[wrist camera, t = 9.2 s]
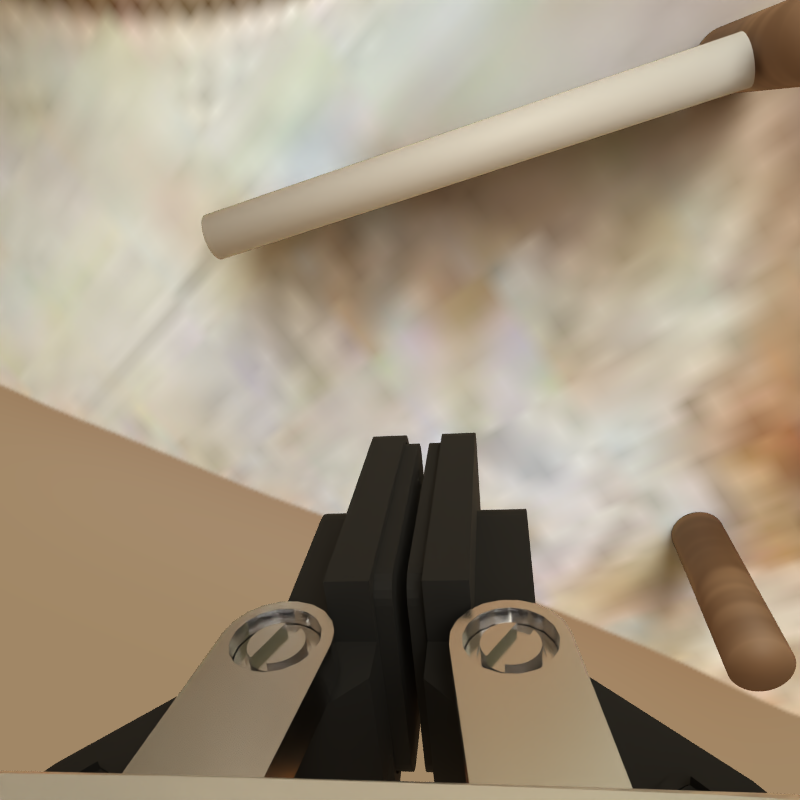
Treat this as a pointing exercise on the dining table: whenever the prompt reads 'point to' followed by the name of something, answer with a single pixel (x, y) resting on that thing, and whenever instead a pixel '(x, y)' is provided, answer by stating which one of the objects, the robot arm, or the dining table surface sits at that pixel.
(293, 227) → the grey rectangular bar
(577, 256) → the dining table surface
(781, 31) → the gateposts
